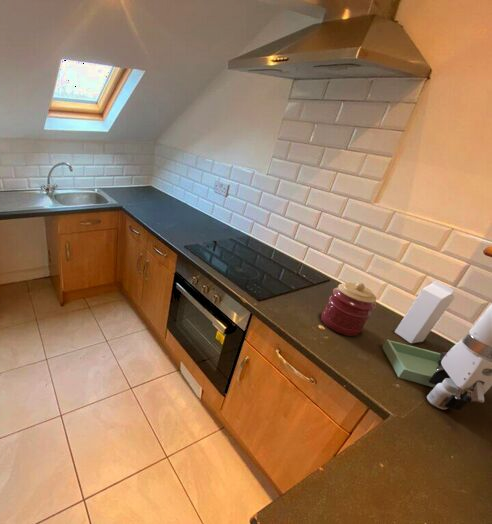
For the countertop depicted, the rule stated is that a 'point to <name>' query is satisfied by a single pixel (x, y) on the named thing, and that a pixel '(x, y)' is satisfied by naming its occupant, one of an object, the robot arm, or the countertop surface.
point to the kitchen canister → (349, 308)
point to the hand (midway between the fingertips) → (443, 395)
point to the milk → (425, 312)
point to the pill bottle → (442, 393)
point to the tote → (412, 362)
